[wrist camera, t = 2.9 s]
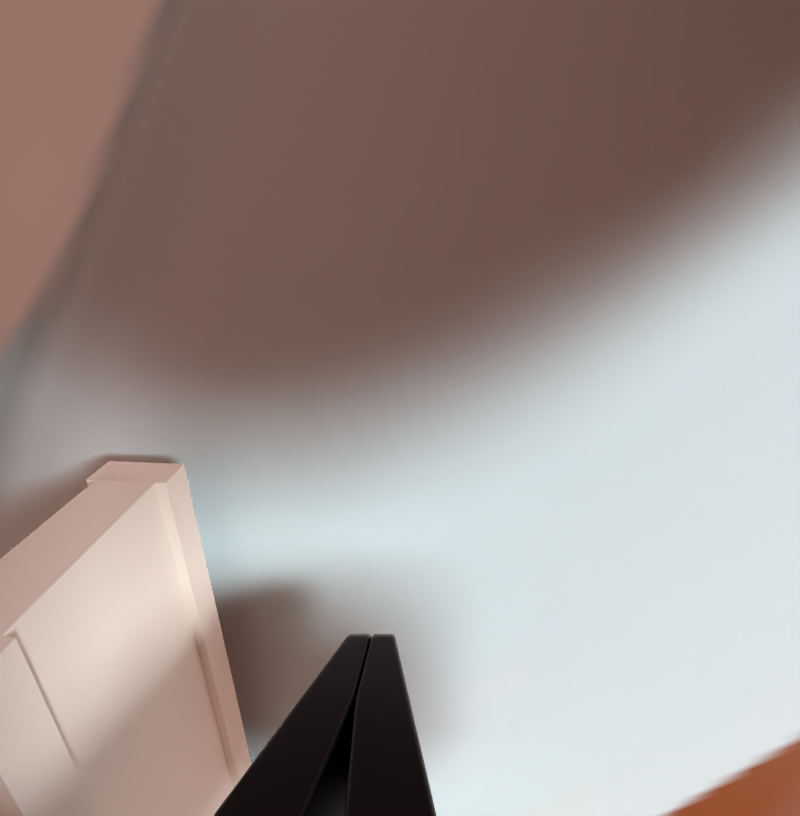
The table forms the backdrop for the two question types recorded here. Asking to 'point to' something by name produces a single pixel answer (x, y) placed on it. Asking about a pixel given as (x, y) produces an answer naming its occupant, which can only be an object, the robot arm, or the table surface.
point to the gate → (116, 658)
